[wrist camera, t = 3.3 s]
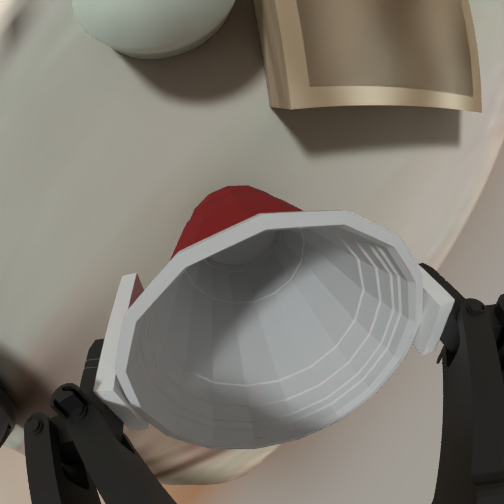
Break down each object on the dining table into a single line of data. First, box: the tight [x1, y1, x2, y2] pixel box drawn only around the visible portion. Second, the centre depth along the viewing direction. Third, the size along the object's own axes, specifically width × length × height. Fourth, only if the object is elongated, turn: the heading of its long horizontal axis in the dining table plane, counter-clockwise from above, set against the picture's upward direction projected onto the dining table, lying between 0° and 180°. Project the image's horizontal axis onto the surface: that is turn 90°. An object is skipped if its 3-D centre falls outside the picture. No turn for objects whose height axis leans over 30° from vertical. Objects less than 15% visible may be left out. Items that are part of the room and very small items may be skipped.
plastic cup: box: [114, 186, 423, 449], centre depth 14 cm, size 11×11×12 cm
